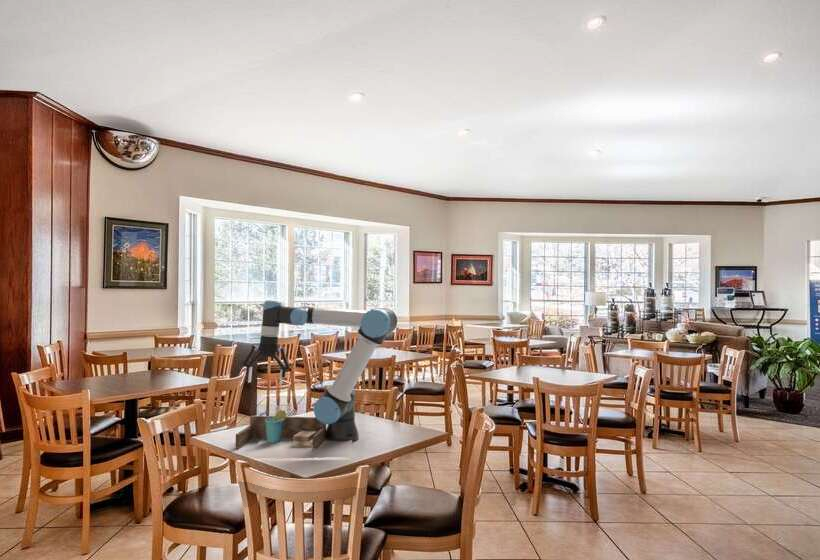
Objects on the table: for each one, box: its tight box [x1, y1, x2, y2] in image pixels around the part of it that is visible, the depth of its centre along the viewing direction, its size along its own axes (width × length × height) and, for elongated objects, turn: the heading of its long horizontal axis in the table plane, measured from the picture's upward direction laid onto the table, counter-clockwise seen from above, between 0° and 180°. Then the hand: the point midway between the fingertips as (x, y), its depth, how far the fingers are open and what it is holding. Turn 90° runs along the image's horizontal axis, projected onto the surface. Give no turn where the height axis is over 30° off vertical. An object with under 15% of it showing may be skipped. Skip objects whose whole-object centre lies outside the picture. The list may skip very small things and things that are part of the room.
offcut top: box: [292, 431, 317, 442], centre depth 233 cm, size 7×10×2 cm
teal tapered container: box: [259, 409, 287, 444], centre depth 235 cm, size 14×8×15 cm, turn 148°
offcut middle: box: [292, 439, 313, 447], centre depth 233 cm, size 8×11×2 cm
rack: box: [235, 415, 327, 450], centre depth 235 cm, size 34×18×10 cm, turn 85°
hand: (264, 383), depth 239 cm, fingers open, 13 cm apart
